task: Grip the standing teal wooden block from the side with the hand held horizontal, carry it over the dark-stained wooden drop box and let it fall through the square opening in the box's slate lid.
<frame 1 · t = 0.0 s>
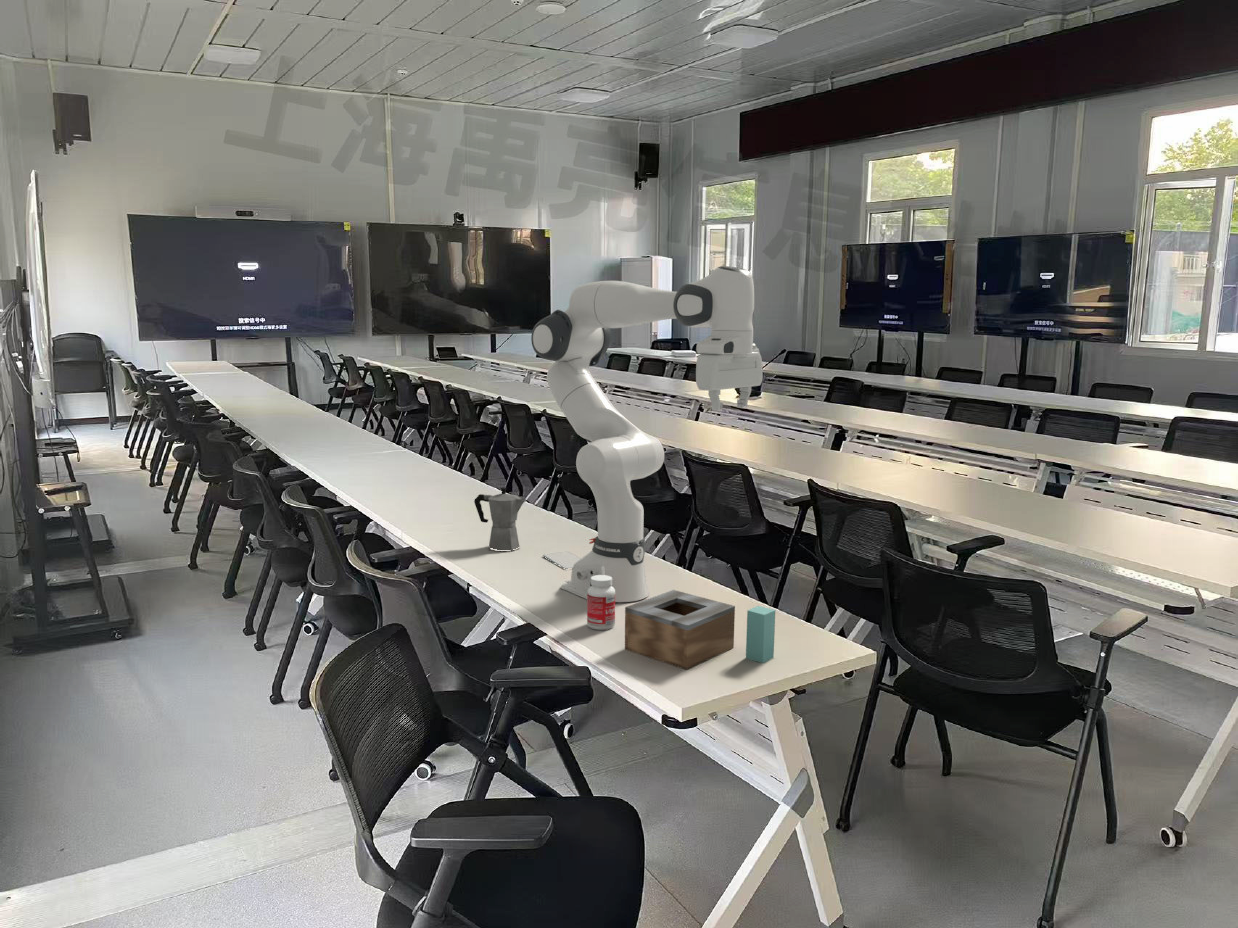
hand: (729, 409, 197), 48 cm above the table, tool pointing down, fingers open, 8 cm apart
coffeepot: (500, 548, 267), on the table
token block: (759, 657, 185), on the table
pill bottle: (601, 626, 203), on the table
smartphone: (566, 563, 254), on the table
drop box: (679, 648, 190), on the table
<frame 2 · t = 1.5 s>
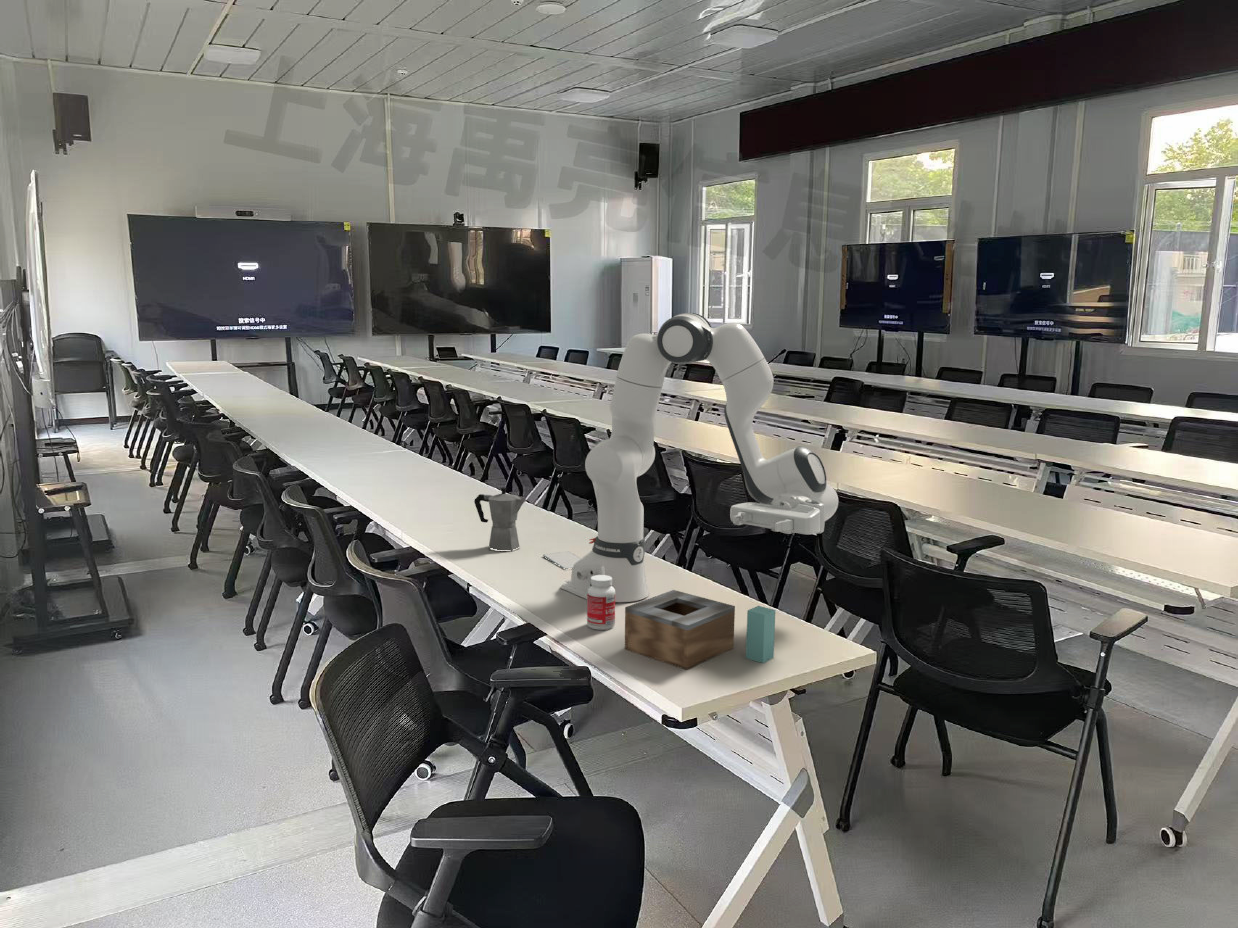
hand: (754, 524, 193), 25 cm above the table, tool horizontal, fingers open, 8 cm apart
nothing on the table moved.
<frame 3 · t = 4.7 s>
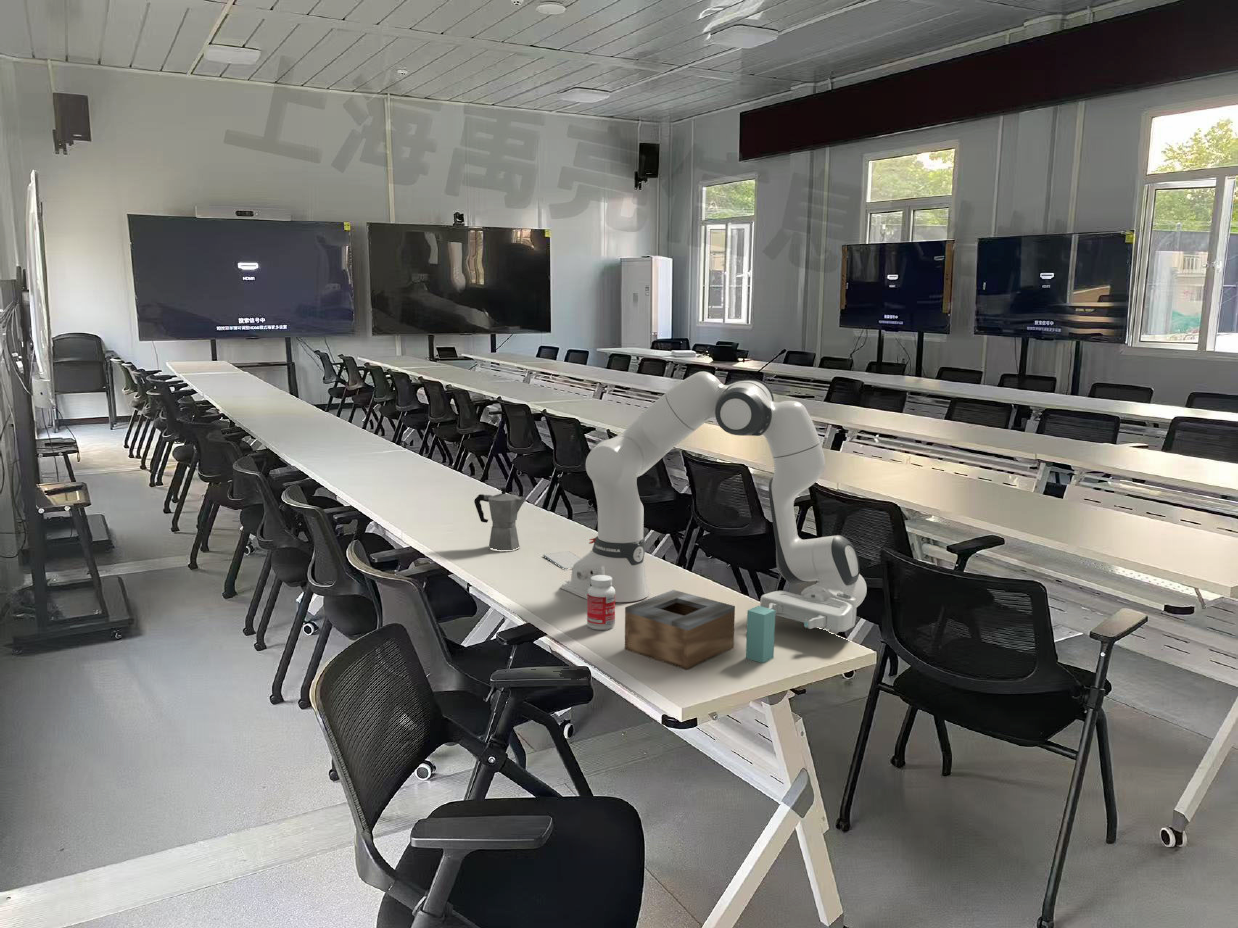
hand: (787, 619, 192), 5 cm above the table, tool horizontal, fingers open, 8 cm apart
nothing on the table moved.
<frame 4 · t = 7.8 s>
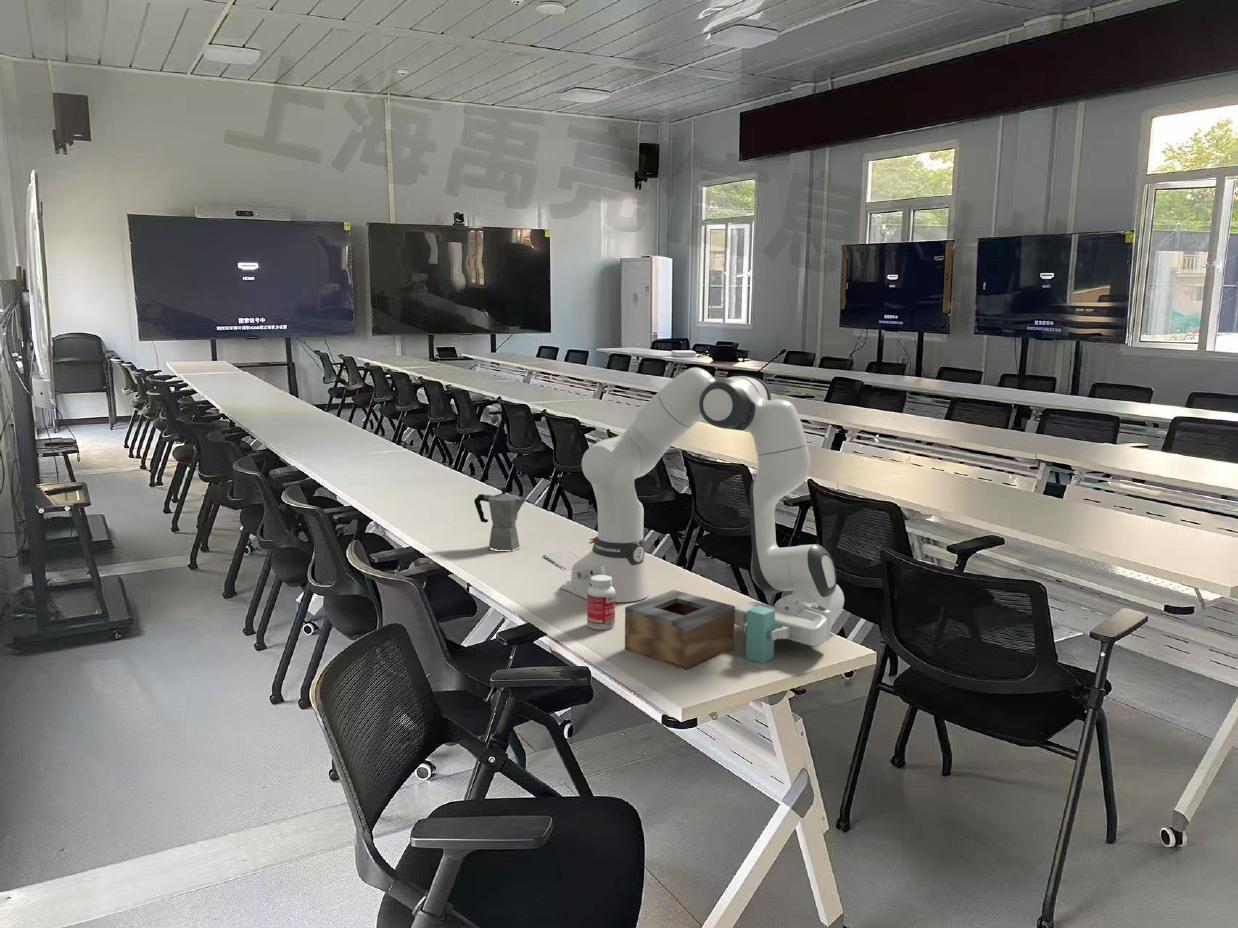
hand: (758, 632, 183), 6 cm above the table, tool horizontal, fingers closed on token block, 4 cm apart
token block: (759, 657, 185), on the table, touching gripper
everything else where it was.
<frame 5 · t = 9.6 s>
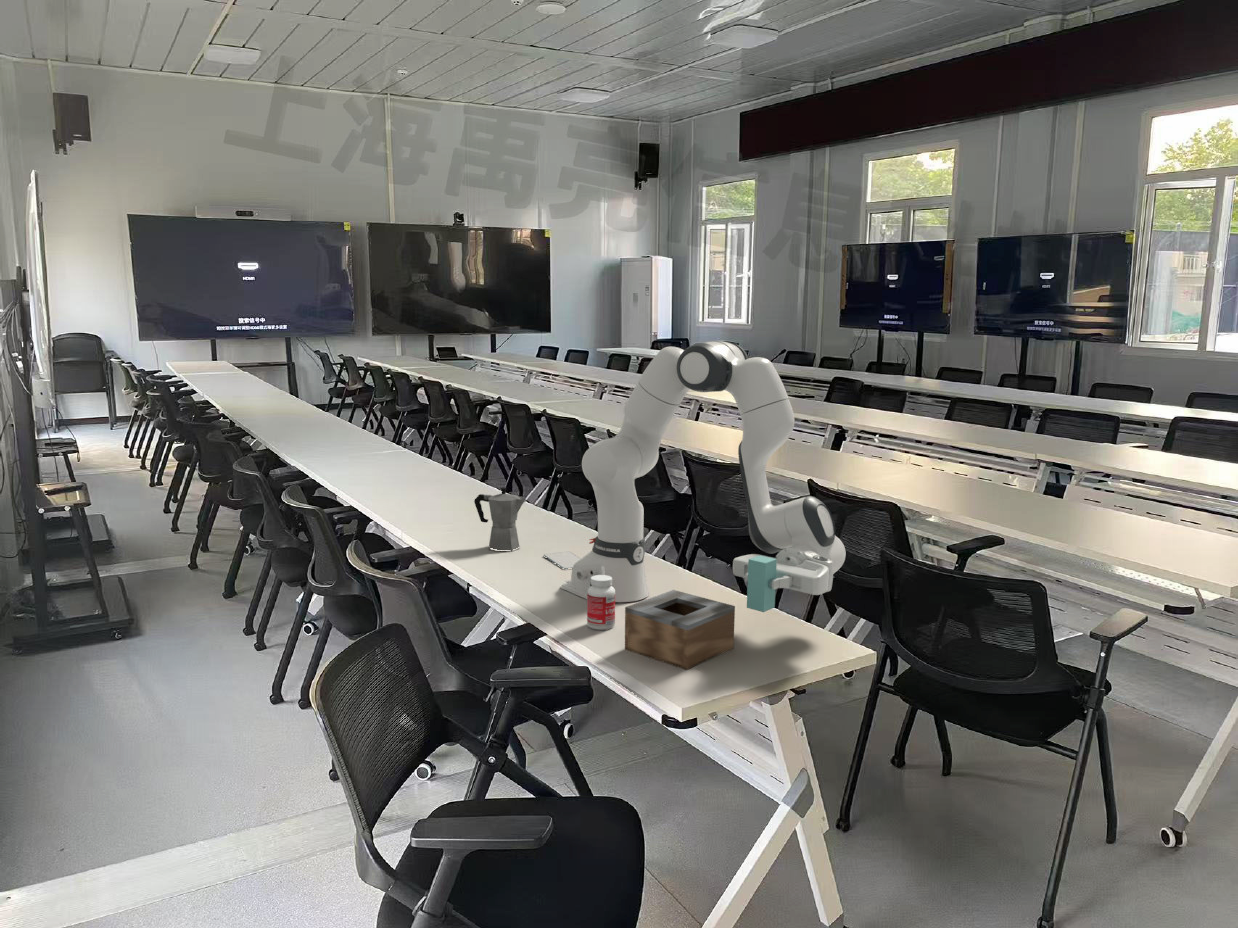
hand: (759, 581, 182), 16 cm above the table, tool horizontal, fingers closed on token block, 4 cm apart
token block: (760, 607, 183), point 10 cm above the table, touching gripper
everything else where it was.
when the fingers open (16 cm above the table, at t = 11.8 s): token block drops 9 cm, resting on drop box.
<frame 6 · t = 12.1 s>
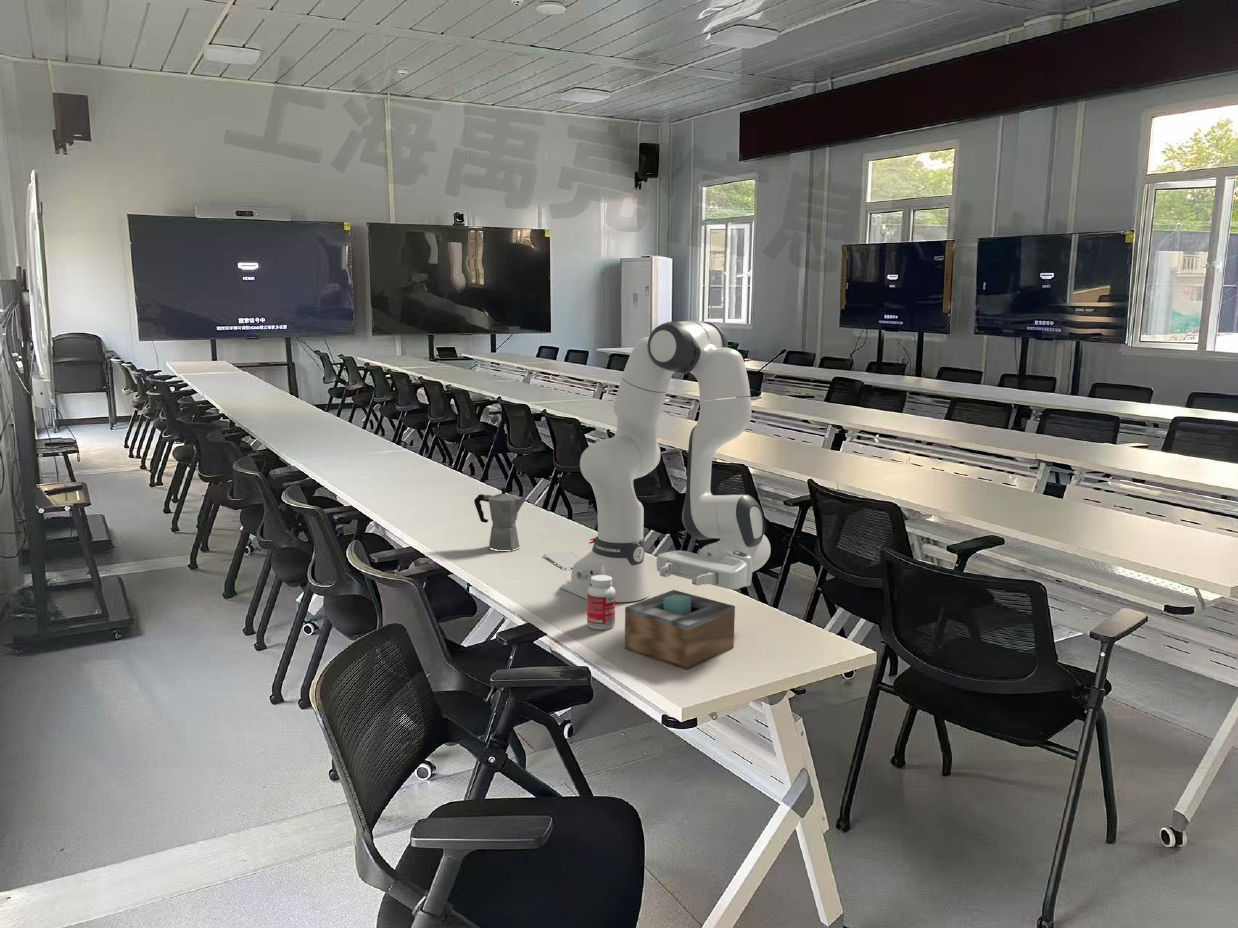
hand: (678, 576, 186), 16 cm above the table, tool horizontal, fingers open, 7 cm apart
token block: (678, 644, 190), point 1 cm above the table, touching drop box
everything else where it was.
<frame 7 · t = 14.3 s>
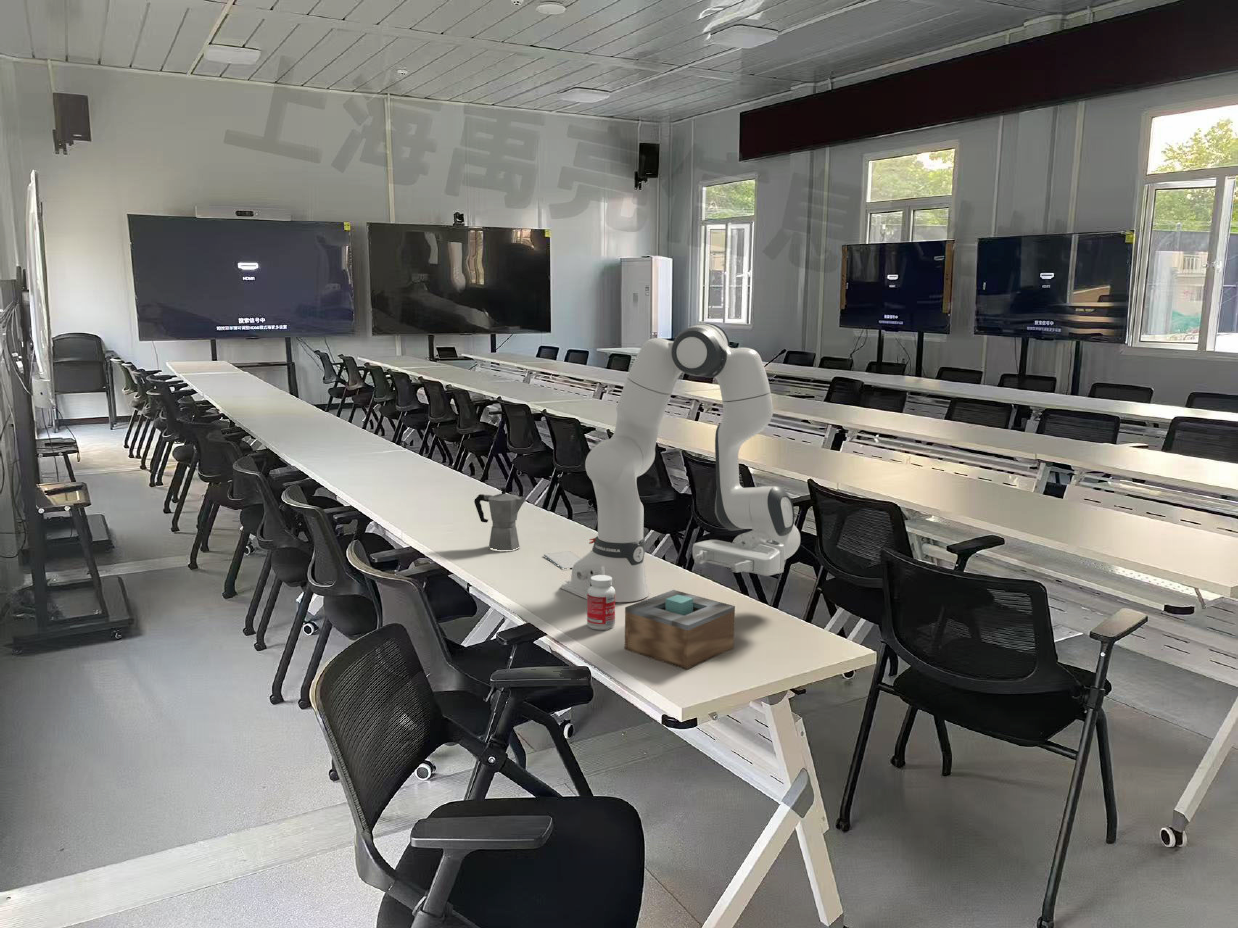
hand: (715, 564, 196), 16 cm above the table, tool horizontal, fingers open, 8 cm apart
nothing on the table moved.
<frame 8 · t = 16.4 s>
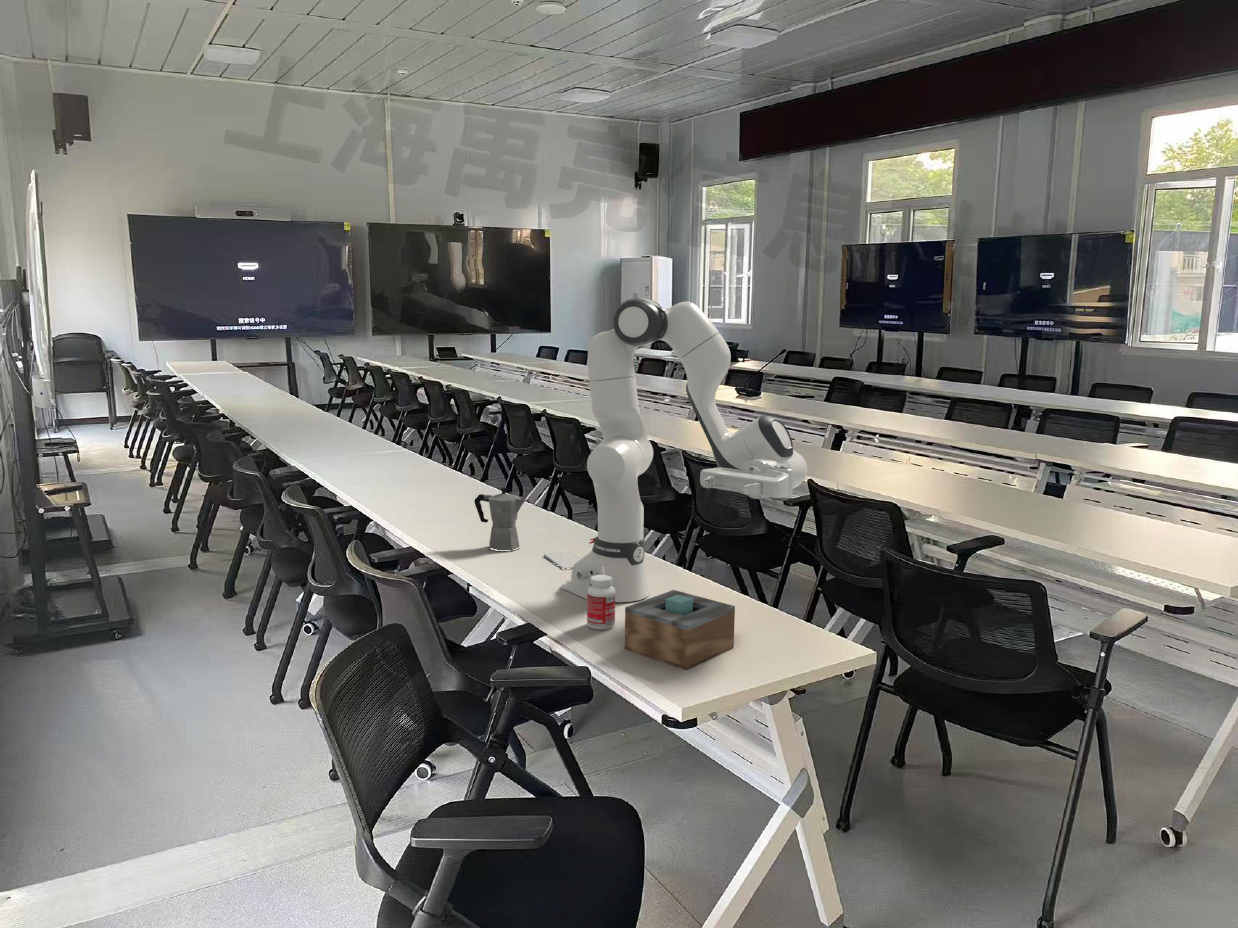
hand: (723, 486, 195), 32 cm above the table, tool horizontal, fingers open, 8 cm apart
nothing on the table moved.
at the end: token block inside the target area on the drop box (0.3 cm from its centre), point 0.6 cm above the drop box's base; the gripper is holding nothing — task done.
